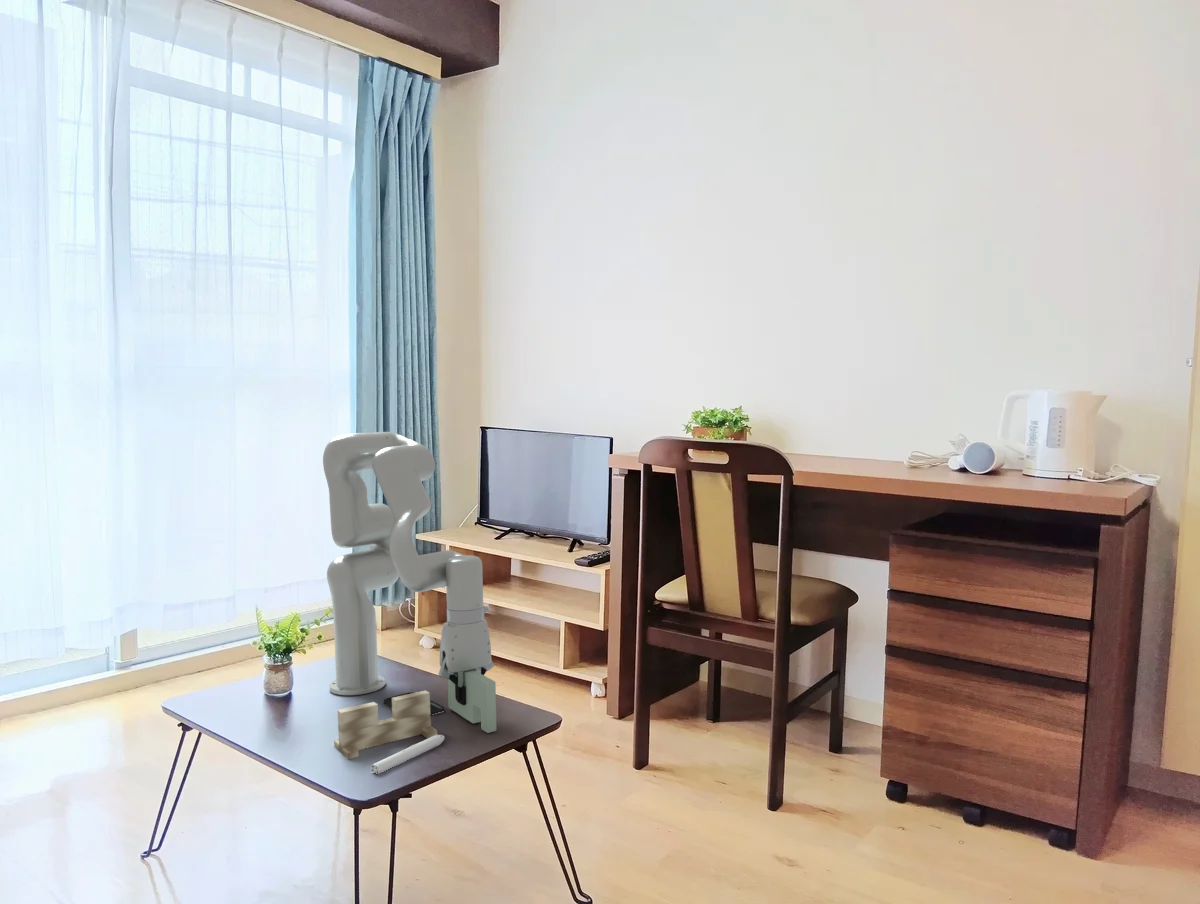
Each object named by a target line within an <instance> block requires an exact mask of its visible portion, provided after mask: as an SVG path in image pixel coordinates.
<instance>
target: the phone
mask: <svg viewBox="0 0 1200 904" xmlns="http://www.w3.org/2000/svg"><path fill="white" fill-rule="evenodd" d="M416 692H417V691H415V692H414V691H410V692H409V691H408V692H405V693H401V694H397V695H393V696H390V697H385V698H384V699H383V704H384V705H385V704H386V705H385V706H387V705H388V706H389V708H390V707H391V708H390V709H392V698H393V697H398V696H402V695H407V694H411V693H416ZM388 706H387V707H388ZM442 711H444V712H445V706H443V705H440V704H439V703H437V702H435V701H433V700H431V699H430V715H432V714H435V713H438V712H442Z"/></svg>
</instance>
